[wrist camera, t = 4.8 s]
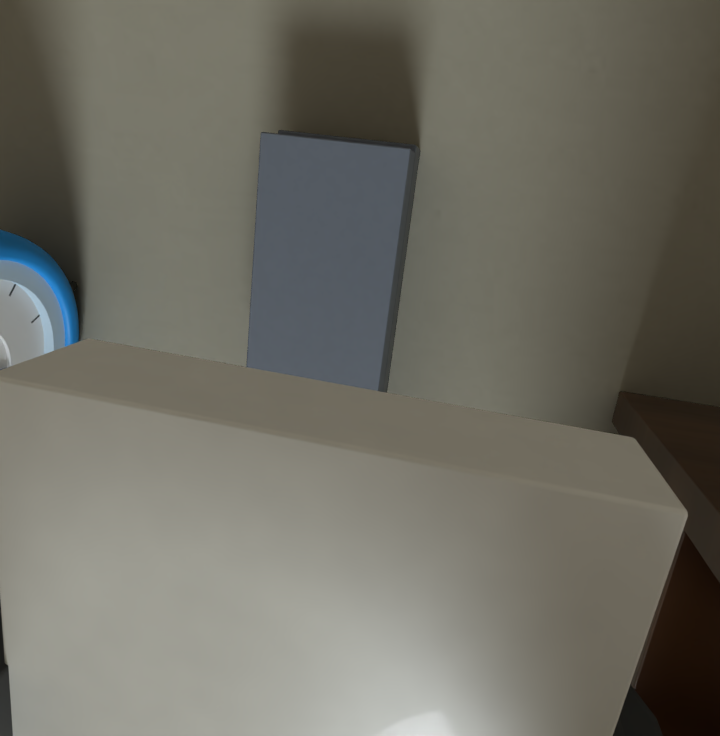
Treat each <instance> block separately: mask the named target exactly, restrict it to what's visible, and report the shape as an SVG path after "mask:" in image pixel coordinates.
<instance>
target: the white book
mask: <svg viewBox="0 0 720 736" xmlns="http://www.w3.org/2000/svg"><path fill="white" fill-rule="evenodd" d="M687 517H688V513H687V510H686V509H685V507H684V506H683V504H682V503H681V502H680V500H679V499H678V497H677V496H676V495H675V493H674V492H673V491H672V489H671V488H670V486H669V485H668V484H667V482H666V481H665V479H664V478H663V477H662V475H661V474H660V472H659V471H658V470H657V468H656V467H655V466H654V464H653V463H652V461H651V460H650V459H649V457H648V456H647V454H646V453H645V452H644V450H643V449H642V448H641V446H640V445H639V443H638V442H637V441H636V439H634V438H633V437H628V436H622V435H617V434H611V433H606V432H600V431H595V430H589V429H584V428H578V427H573V426H567V425H562V424H556V423H551V422H545V421H540V420H534V419H529V418H523V417H518V416H512V415H507V414H501V413H496V412H490V411H485V410H479V409H474V408H468V407H463V406H457V405H452V404H446V403H441V402H435V401H430V400H424V399H419V398H413V397H408V396H402V395H397V394H391V393H386V392H380V391H375V390H369V389H364V388H358V387H353V386H347V385H342V384H336V383H331V382H325V381H320V380H314V379H309V378H303V377H298V376H292V375H287V374H281V373H276V372H270V371H265V370H259V369H254V368H248V367H243V366H237V365H232V364H226V363H221V362H215V361H210V360H204V359H199V358H193V357H188V356H182V355H177V354H171V353H166V352H160V351H155V350H149V349H144V348H138V347H133V346H127V345H122V344H116V343H111V342H105V341H100V340H94V339H89V338H88V339H85V340H82V341H79V342H77V343H74V344H71V345H68V346H66V347H63V348H60V349H57V350H54V351H52V352H49V353H46V354H43V355H41V356H38V357H35V358H32V359H30V360H27V361H24V362H21V363H19V364H16V365H13V366H10V367H7V368H5V369H2V370H0V601H1V615H2V630H3V645H4V659H5V664H7V665H8V669H9V684H10V699H11V714H12V729H13V736H613V733H614V731H615V728H616V725H617V722H618V719H619V716H620V713H621V710H622V707H623V704H624V701H625V698H626V695H627V693H628V690H629V687H630V684H631V681H632V678H633V675H634V672H635V669H636V666H637V663H638V660H639V658H640V655H641V652H642V649H643V646H644V643H645V640H646V637H647V634H648V631H649V628H650V625H651V622H652V620H653V617H654V614H655V611H656V608H657V605H658V602H659V599H660V596H661V593H662V590H663V587H664V584H665V582H666V579H667V576H668V573H669V570H670V567H671V564H672V561H673V558H674V555H675V552H676V549H677V547H678V544H679V541H680V538H681V535H682V532H683V529H684V526H685V523H686V520H687Z"/></svg>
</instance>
